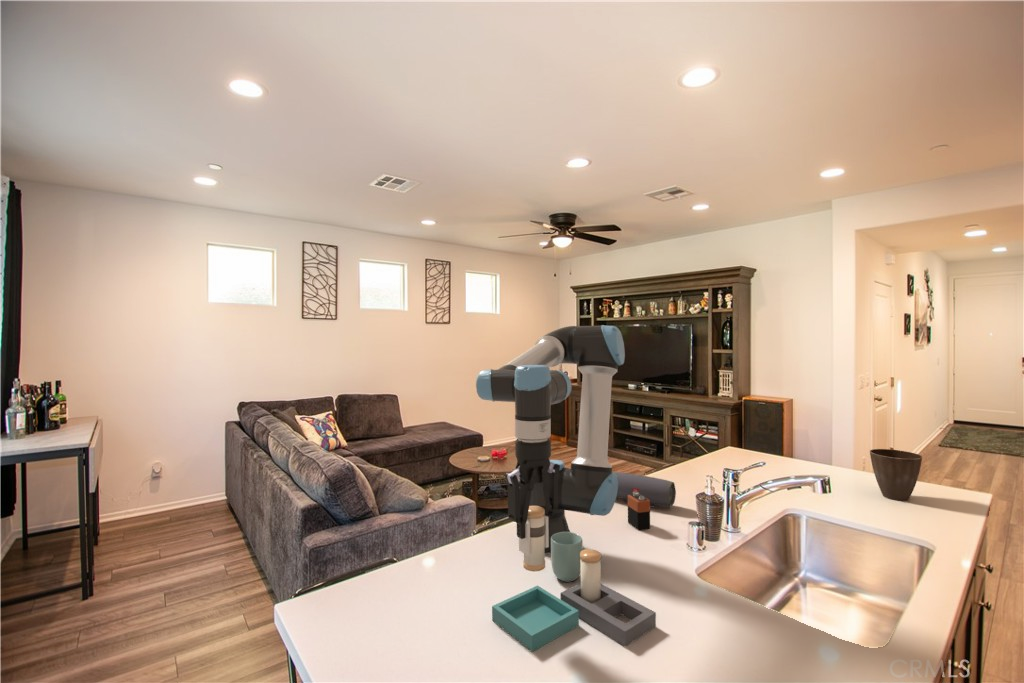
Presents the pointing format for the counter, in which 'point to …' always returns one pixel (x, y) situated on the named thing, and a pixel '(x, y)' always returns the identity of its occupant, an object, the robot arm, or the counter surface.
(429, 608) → the counter surface
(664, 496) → the bluetooth speaker
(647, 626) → the fuse holder
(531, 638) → the parts tray
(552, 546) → the cup
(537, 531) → the fuse
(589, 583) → the cylinder
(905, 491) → the plant pot
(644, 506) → the battery
